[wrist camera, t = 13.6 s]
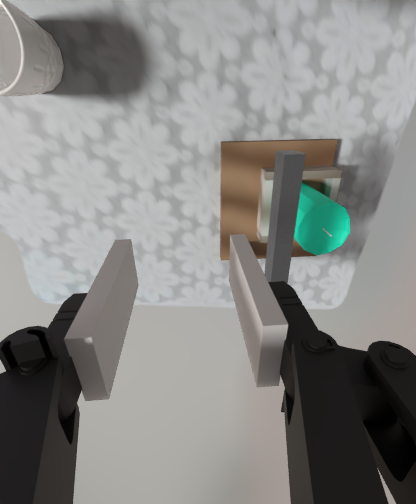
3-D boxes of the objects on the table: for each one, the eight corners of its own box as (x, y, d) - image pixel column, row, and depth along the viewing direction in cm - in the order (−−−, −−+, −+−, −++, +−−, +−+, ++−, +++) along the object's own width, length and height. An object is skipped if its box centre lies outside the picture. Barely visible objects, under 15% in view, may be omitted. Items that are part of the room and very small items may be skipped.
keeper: (230, 134, 34) (274, 159, 18) (262, 133, 34) (335, 157, 18) (227, 261, 42) (255, 359, 26) (253, 259, 43) (297, 356, 26)
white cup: (69, 24, 29) (19, -11, 21) (69, 106, 33) (27, 106, 24) (-13, 2, 28) (-104, -46, 19) (-3, 90, 32) (-76, 83, 23)
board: (221, 141, 36) (225, 145, 32) (333, 138, 37) (350, 142, 33) (220, 256, 44) (223, 270, 40) (312, 252, 45) (324, 265, 41)
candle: (305, 222, 41) (348, 263, 30) (266, 219, 40) (295, 259, 29) (317, 182, 38) (369, 210, 27) (275, 177, 37) (312, 205, 27)
